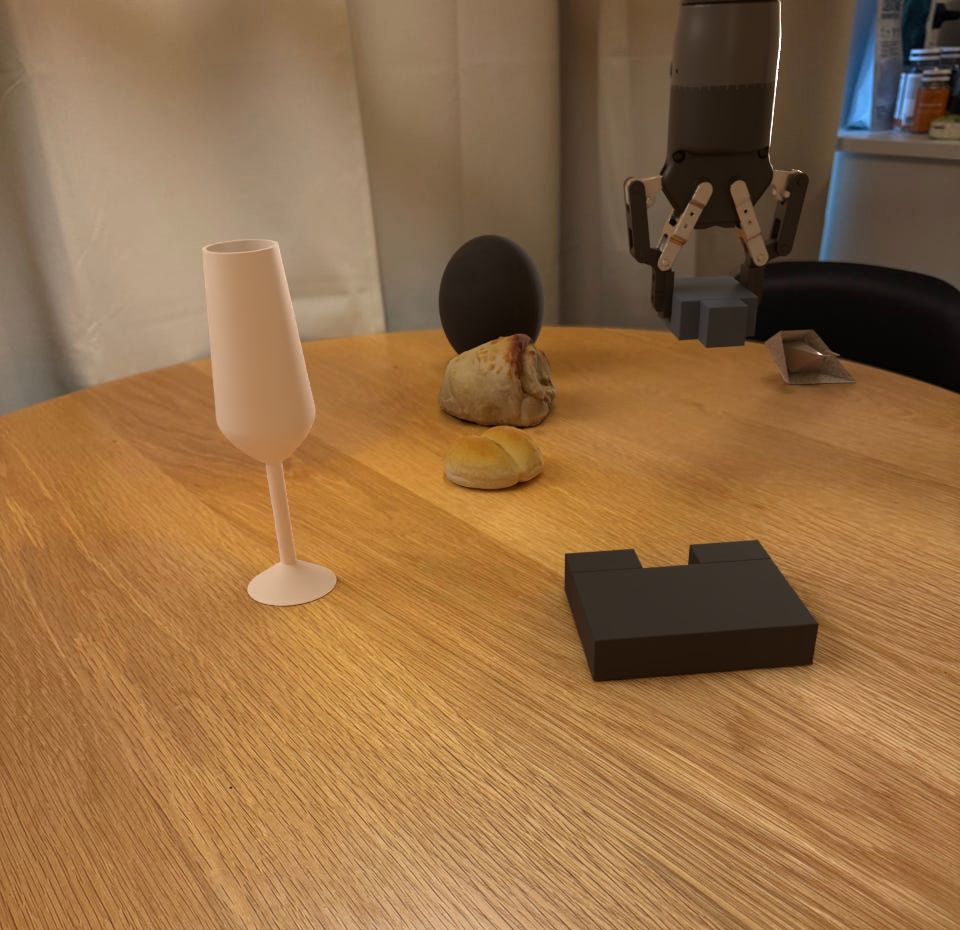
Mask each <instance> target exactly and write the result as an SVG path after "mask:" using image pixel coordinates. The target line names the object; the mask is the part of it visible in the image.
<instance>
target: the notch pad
mask: <svg viewBox="0 0 960 930" xmlns="http://www.w3.org/2000/svg"><path fill="white" fill-rule="evenodd" d="M564 592H565V596H566V599H567V602H568V605H569V608H570V611H571V614H572V617H573V621H574V624H575V627H576V630H577V633H578V636H579V640H580V643H581V645H582V646H581V647H582V650H583V653H584V655H585V659H586V661H587V665H588V668H589V671H590V675H591V678H592V680H593V682H599V681H612V680H625V679H636V678H637V679H638V678H651V677H663V676H678V675H689V674H691V675H692V674H702V673H715V672H728V671H741V670H742V671H743V670H754V669H756V670H757V669H765V668H767V669H769V668H780V667H781V668H783V667H794V666H805V665H806V666H807V665H813V663H814V656H815V650H816V643H817V637H818V631H819V625H820V624H819V622H818V621H817V619H816V618H815V617H814V616H813V614H812V612H811V611H810V610H809V608H808V607H807V606H806V604H805V602H804V601H803V600H802V599H801V597H800V596H799V594H798V593H797V591H796V590H795V589H794V588H793V586H792V585H791V584H790V582H789V581H788V580H787V578H786V577H785V575H784V574H783V573H782V571H781V569H780V568H779V567H778V566H777V565H776V563H775V562H774V560H773V559H772V557H771V556H770V554H769V553H768V552H767V550H766V549H765V548H764V546H763V544H762V543H761V542H760V541H759V539H748V540H736V541H735V540H734V541H722V542H721V541H720V542H709V543H692V544H691V543H690V544H689V547H688V559H687V564H680V565H679V564H678V565H666V566H665V565H663V566H651V567H649V566H648V567H643V565H642V562H641V561H640V558H639V556H638V554H637V552H636V550H635V548H623V549H621V548H620V549H610V550H608V549H607V550H595V551H582V552H581V551H579V552H567V553H564Z"/></svg>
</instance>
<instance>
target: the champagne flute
mask: <svg viewBox="0 0 960 930" xmlns="http://www.w3.org/2000/svg"><path fill="white" fill-rule="evenodd" d="M201 254H202V255H201V256H202V265H203V277H204V279H203V280H204V292H205V303H206V313H207V315H206V316H207V324H208V326H207V327H208V337H209V338H208V339H209V351H210V364H211V373H212V374H211V375H212V384H213V385H212V387H213V397H214V399H213V400H214V409H215V421H216V424H217V427H218V429H219V430H220V431H221V433H222V434H223V436H224V437H225V438H226V439H227V440H228V441H229V442H230V444H232V445H233V446H234V447H235V448H237V449H238V450H239V451H241V452H243V453H244V454H246V455H247V456H248V457H250V458H252V459H253V460H255V461H257V462H259V463H262V464H265V471H266V477H267V478H266V479H267V484H268V491H269V498H270V503H271V509H272V515H273V522H274V527H275V534H276V541H277V547H278V554H279V560H280V561H278V562H276V563H275V564H273V565H272V566H270V567H269V568H266V569H265V570H264V571H262V572H260V573H259V574H257V575H256V576H254V578H252V579H251V580H250V581H249V583H248V585H247V588H246V590H247V594H248V595H249V597H250V598H251V599H252V600H254V601H256V602H258V603H260V604H265V605H268V606H276V607H277V606H278V607H280V606H281V607H284V606H285V607H286V606H296V605H301V604H305V603H311V602H313V601H316V600H318V599H320V598H322V597H324V596H326V595H327V594H328V593H330V592H331V591H332V590H334V588H335V586H336V584H337V582H338V581H337V580H338V579H337V575H336V573H335V572H334V571H332V570H331V569H329V568H328V567H326V566H322V565H319V564H316V563H312V562H309V561H305V560H303V559H298V558H297V553H296V547H295V540H294V533H293V527H292V519H291V513H290V507H289V500H288V493H287V487H286V479H285V473H284V466H283V462H284V461H285V460H287V459H288V458H290V457H291V456H292V455H293V454H294V453H295V451H296V450H297V449H298V448H299V447H300V445H301V444H302V443H303V442H304V441H305V439H306V438H307V437H308V435H309V433H310V431H311V430H312V427H313V425H314V422H315V420H316V413H317V412H316V411H317V410H316V405H315V401H314V396H313V392H312V388H311V383H310V378H309V374H308V370H307V365H306V360H305V356H304V352H303V347H302V343H301V338H300V334H299V329H298V325H297V319H296V316H295V311H294V308H293V302H292V297H291V293H290V289H289V285H288V280H287V275H286V271H285V267H284V262H283V258H282V252H281V249H280V244H279V242H278V241H276V240H272V239H264V238H263V239H261V238H254V239H253V238H251V239H249V238H248V239H234V240H233V239H232V240H225V241H219V242H214V243H211V244H208V245H205V246H203V247H202V248H201Z"/></svg>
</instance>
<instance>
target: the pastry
mask: <svg viewBox="0 0 960 930" xmlns="http://www.w3.org/2000/svg"><path fill="white" fill-rule="evenodd" d="M551 375H552V370H551V366H550V362H549V359H548V356H547V355H546V353H545V351H544V350H542V349H540V348H539V347H538V346H537V345H535V344H534V343H533V341H532V339H531V338H530V337H528V336H527V335H525V334H515V335H512V336H509V337H499V338H498V339H497V340H493V341H490V342H488V343H485V344H482V345H480V346H478V347H476V348H474V349H471V350H469V351H465V352H464V353H462V354H460V355H458V356H454V357H453V358H451V359H450V360H449V363H448V364H447V365H446V369H445V372H444V374H443V378H442V384H441V387H440V390H439V393H438V404H439V409H440V410H441V411H444V412H446V414H447V415H450V416H454V417H457V419H459V420H461V419H462V420H464V421H468V422H471V423H476V425H479V426H483V427H485V426H510V427H515V428H517V427H529V426H531V427H534V426H537V425H539V424H540V423H541V422H543V420H546V419H547V417H548V416H549V410H550V409H551V408H552V402H553V401H554V400H555V399H556V396H557V393H558V392H557V388H556V386H555V383H554V382H553V380H552V379H551Z"/></svg>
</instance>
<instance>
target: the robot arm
mask: <svg viewBox="0 0 960 930" xmlns="http://www.w3.org/2000/svg"><path fill="white" fill-rule="evenodd" d="M678 4H679V5H678V7H677V15H676V23H675V28H674V32H673V33H674V34H673V41H672V51H671V60H670V63H669V77H670V78H669V79H670V84H669V104H668V120H667V122H668V123H667V141H666V155H665V156H666V157H665V161H664V164H663V166H662V168H661V170H660V172H659V174H655V175H651V176H645V177H641V178H637V177H635V176H629V177H626V179H625V180H624V181H623V187H622V189H623V197H624V198H623V199H624V207H625V219H626V228H627V239H628V249H629V254H630V256H632V258H634V260H635V261H636V262H637V263H639V264H643V265H647V266H650V267H651V286H650V304H651V308H652V309H653V310H654V311H655V312H656V313H657V312H658V315H659V316H660V317H661V318H662V319H670V318H671V314H672V297H673V290H674V278H675V274H676V273H675V270H673V268H672V267H673V266H674V263H675V261H676V259H677V258H678V256H679V254H680V252H681V249H682V247H683V246H684V245H685V244H686V243H687V242H688V240H689V238H690V236H691V234H692V232H693V230H696V231H697V230H706V229H710V228H713V227H719V228H723V229H732V228H733V231H734V233H735V234H736V236H737V238H738V242H739V243H740V244H739V245H740V246H741V249H742V251H743V253H744V261H741V262H740V271H739V280H738V282H739V283H740V284H741V285H743V286H744V287H745V288H747V289H748V290H749V291H751V292H752V293H753V294H755V295H756V296H757V297H758V304H757V308H758V307H759V306H760V304H761V302H762V297H763V287H764V280H765V279H764V278H765V270H766V267H767V265H768V263H769V262H770V261H772V260H774V259H777V258H779V257H787V256H789V255H790V254H791V253H792V251H793V246H794V243H795V238H796V234H797V230H798V227H799V223H800V220H801V219H800V218H801V216H802V215H801V214H802V210H803V207H804V203H805V199H806V196H807V190H808V186H809V183H810V178H809V176H808V174H806V173H804V172H803V171H800V170H798V169H793V168H791V169H790V168H789V169H788V170H779V169H774V168H773V165H772V164H771V161H770V147H771V140H772V129H773V120H774V110H775V101H776V91H777V82H778V72H779V70H778V69H779V62H780V53H781V52H780V51H781V41H782V40H781V39H782V23H781V22H782V21H781V20H782V19H781V11H782V2H781V0H678ZM770 186H771V187H772V197H773V198H774V199H775V200H777V201H776V205H775V208H774V209H775V210H774V213H773V217H772V221H771V225H770V230H769V234H768V239H767V238H766V239H765V240H764V238H763V235H762V228H761V225H760V221H759V220H758V217H757V214H756V211H755V208H754V207H755V206H756V205H757V203H758V201H759V200H760V199H761V198H762V197H763V195H764V194H765V193H766V191H767V190H768V188H769V187H770ZM659 191H662V193H663V195H664V196H665V198H666V199H667V201H668V202H669V204H670V206H671V207H672V209H671V211H670V213H669V215H668V217H667V219H666V222H665V224H664V226H663V227H662V233H661V235H660V237H659V238H658V239H659V240H658V241H657V243H656V245H655V246H652V245H651V241H650V239H651V238H650V229H649V228H650V227H649V217H648V209H650V208H652V207H653V206H654V204H655V202H656V201H655V200H656V195H657V193H659Z"/></svg>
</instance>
